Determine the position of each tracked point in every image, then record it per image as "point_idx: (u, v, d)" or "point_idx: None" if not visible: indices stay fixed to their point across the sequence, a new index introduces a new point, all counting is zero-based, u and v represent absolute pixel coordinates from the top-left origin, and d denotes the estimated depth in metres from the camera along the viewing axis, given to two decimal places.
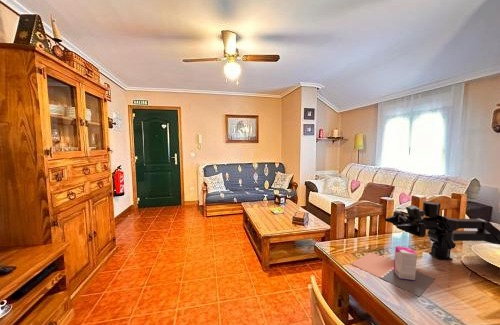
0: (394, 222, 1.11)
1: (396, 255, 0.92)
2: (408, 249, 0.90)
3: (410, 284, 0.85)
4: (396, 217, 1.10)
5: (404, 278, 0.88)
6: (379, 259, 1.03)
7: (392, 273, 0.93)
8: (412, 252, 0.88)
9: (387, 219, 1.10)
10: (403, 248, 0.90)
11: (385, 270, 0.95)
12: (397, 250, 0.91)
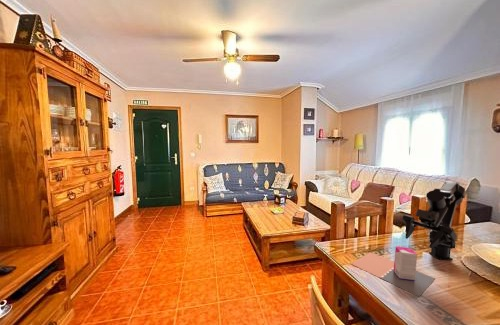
0: (412, 230, 0.99)
1: (396, 255, 0.92)
2: (408, 249, 0.90)
3: (410, 284, 0.85)
4: (411, 225, 0.98)
5: (404, 278, 0.88)
6: (379, 259, 1.03)
7: (392, 273, 0.93)
8: (412, 252, 0.88)
9: (407, 235, 0.97)
10: (403, 248, 0.90)
11: (385, 270, 0.95)
12: (397, 250, 0.91)
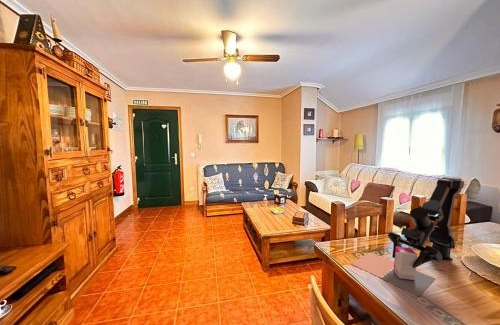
0: None
1: (396, 255, 0.92)
2: (408, 249, 0.90)
3: (410, 284, 0.85)
4: (398, 244, 0.94)
5: (404, 278, 0.88)
6: (379, 259, 1.03)
7: (392, 273, 0.93)
8: (412, 252, 0.88)
9: (394, 255, 0.93)
10: (403, 248, 0.90)
11: (385, 270, 0.95)
12: (397, 250, 0.91)
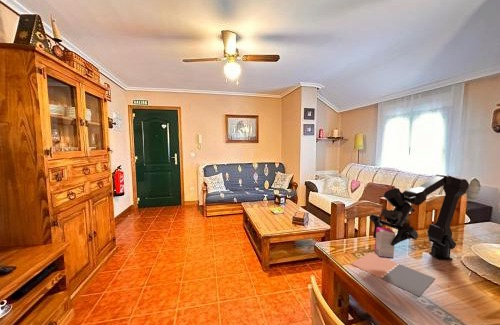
0: None
1: (377, 235, 0.97)
2: (387, 229, 0.96)
3: (410, 284, 0.85)
4: (378, 225, 1.00)
5: (383, 256, 0.94)
6: (379, 259, 1.03)
7: (392, 273, 0.93)
8: (391, 231, 0.94)
9: (375, 235, 0.99)
10: (383, 229, 0.96)
11: (385, 270, 0.95)
12: (377, 230, 0.97)
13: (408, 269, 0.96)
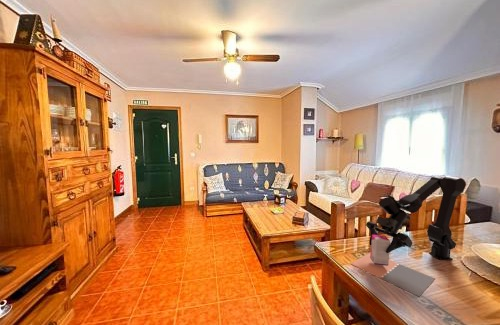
0: None
1: (372, 242, 1.00)
2: (383, 236, 0.98)
3: (410, 284, 0.85)
4: (374, 232, 1.02)
5: (379, 263, 0.96)
6: None
7: (392, 273, 0.93)
8: (386, 239, 0.96)
9: None
10: (378, 236, 0.98)
11: (385, 270, 0.95)
12: (373, 238, 0.99)
13: (408, 269, 0.96)
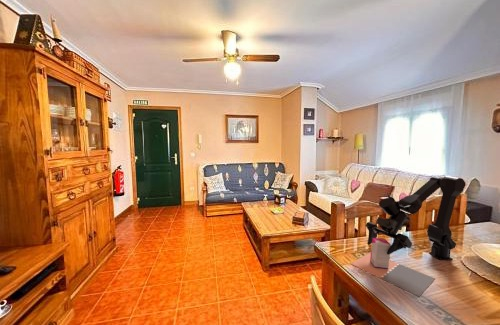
0: (374, 237, 1.03)
1: (372, 246, 1.00)
2: (383, 240, 0.99)
3: (410, 284, 0.85)
4: (373, 232, 1.03)
5: (379, 266, 0.96)
6: None
7: (392, 273, 0.93)
8: (386, 242, 0.96)
9: (369, 242, 1.02)
10: (379, 239, 0.99)
11: (385, 270, 0.95)
12: (373, 241, 0.99)
13: (408, 269, 0.96)
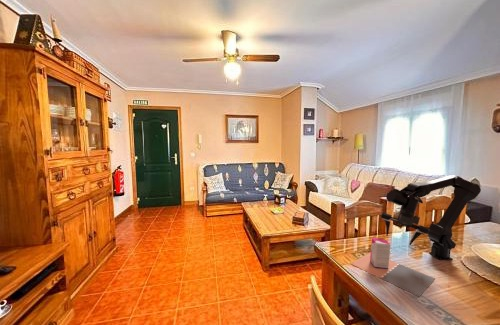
0: None
1: (372, 246, 1.00)
2: (383, 240, 0.99)
3: (410, 284, 0.85)
4: (389, 223, 1.05)
5: (379, 266, 0.96)
6: None
7: (392, 273, 0.93)
8: (386, 242, 0.96)
9: None
10: (378, 240, 0.99)
11: (385, 270, 0.95)
12: (373, 241, 0.99)
13: (408, 269, 0.96)
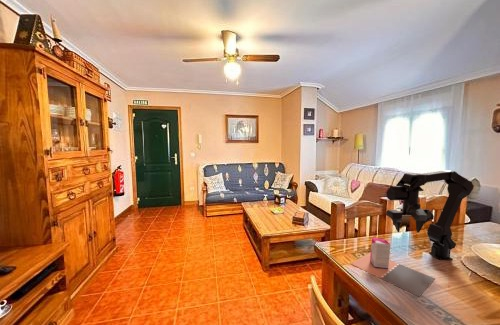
0: None
1: (372, 246, 1.00)
2: (383, 240, 0.99)
3: (410, 284, 0.85)
4: None
5: (379, 266, 0.96)
6: None
7: (392, 273, 0.93)
8: (386, 242, 0.96)
9: None
10: (378, 240, 0.99)
11: (385, 270, 0.95)
12: (373, 241, 0.99)
13: (408, 269, 0.96)
